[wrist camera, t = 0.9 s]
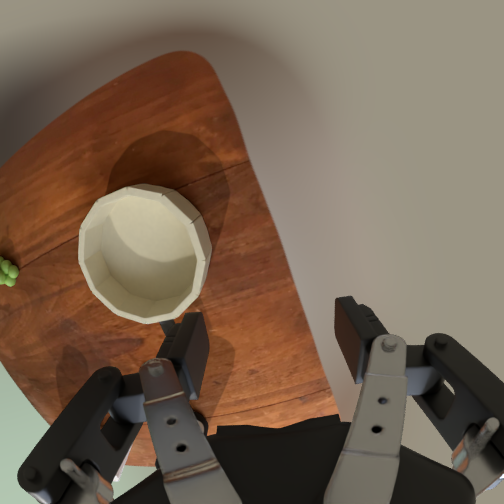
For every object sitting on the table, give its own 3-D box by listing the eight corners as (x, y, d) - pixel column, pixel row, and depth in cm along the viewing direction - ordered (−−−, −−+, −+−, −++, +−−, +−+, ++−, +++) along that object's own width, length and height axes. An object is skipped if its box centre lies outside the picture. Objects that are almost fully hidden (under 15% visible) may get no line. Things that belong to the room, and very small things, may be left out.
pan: (84, 209, 29) (62, 216, 24) (187, 167, 27) (175, 167, 23) (154, 367, 35) (145, 389, 31) (250, 352, 34) (249, 375, 30)
